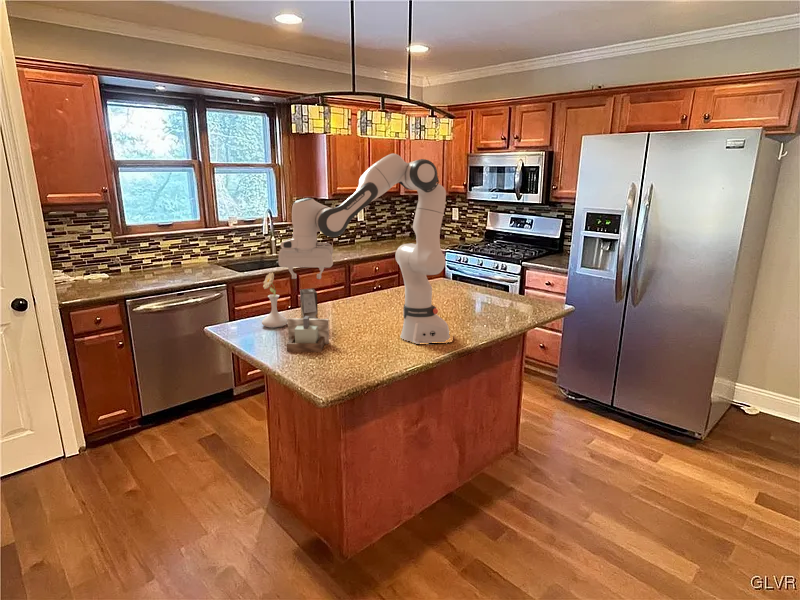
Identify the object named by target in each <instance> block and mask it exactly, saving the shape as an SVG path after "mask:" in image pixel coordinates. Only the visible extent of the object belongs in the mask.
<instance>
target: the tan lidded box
mask: <svg viewBox="0 0 800 600" xmlns="http://www.w3.org/2000/svg"><path fill="white" fill-rule="evenodd" d="M287 320H288V323H287V336H288V337H287V338H288V340H287V343H286V351H287V352H305V353H306V352H307V353H309V352H310V353H311V352H312V353H321V352H322V350H323V348H324V346H325V345H326V344H327V345H328V344H329V343H330V335H329V334H330V328H329V325H330V324H329V323H330V322H329V318H318V319H309V325H318V343H295V328H296V327H297V325H303V318H301V317H300V318H297V317H293V318H292V317H291V318H290V317H288V318H287Z"/></svg>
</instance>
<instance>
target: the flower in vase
mask: <svg viewBox="0 0 800 600" xmlns="http://www.w3.org/2000/svg"><path fill="white" fill-rule="evenodd" d="M274 278H275V273H274V272H273V271H272V272H269V273H268V274H267V275H266V276H265V279H264V281H262V282H263V286H262V288H263V289H264V290H266V289H269V291H270V292H271V293H272V294H269V295H267V298H268V299H269V301H270V303H271V304H270V305H271V311H270V313H269V314H268V315H267V316H265V317H264V318H263V319H262V321H261V325H262V326H264V327H267V328H282V327H283V326H286V325H288V318H286V317H285V316H284V315H282V314H281V313H279V311H278V308H277V307H278V299H279V297H280V294H276V293H277V289H276V288H275V285H274V283H273V282H274Z"/></svg>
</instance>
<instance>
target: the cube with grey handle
mask: <svg viewBox="0 0 800 600" xmlns="http://www.w3.org/2000/svg"><path fill="white" fill-rule="evenodd" d="M295 343H318V325H309V316H305V317H304V318H303V325H297V327H296V328H295Z"/></svg>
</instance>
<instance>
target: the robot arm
mask: <svg viewBox="0 0 800 600" xmlns="http://www.w3.org/2000/svg"><path fill="white" fill-rule="evenodd" d="M402 157H403V156H401V155H399V154H398V153H389V154H387V155H385V156H384V157H382V158H381V159H379V160H377V161H375V163H373V164H372V165H371V166H369V167H368V168H367V169H366V170H365V171H363V173H362V174H361V175H360V177H359V179H358V185H357V188H356V190H355V191H354V192H353V194H351V195H350V196H348V198H347V199H346V200H344V201H343V202H342V203H341V204H340V205H338V206H336V207H329V206H327V205H324V204H323V203H320V202H318V201H316V200H315V199H314V198H313V197H312V198H311V197H306V198H301V199H297V200H295V201H294V202H293V203H292V208H291V223H292V227H293V230H292V231H293V232H292V238H288V239H286V240H283V241H281V242H280V248H281V249H280V250H279V251H278V260H277V261H278V263H277V264H278V266H279V267H280V268H288V272H289V273H290V275H291V280H295V279H297V273H295V272H294V271H293V270H294V268H318V269H319V273H316V279H317V280H321V279H322V273H323V272H324V269H326V268H327V269H328V268H331V267H332V266H333V265H334V260H333V259H334V258H333V253H334V246H333V245H332V244H330V243H329V242H318V234H317V233H318V232H321V233H322V234H323V235H324V236H326V237H328V238H337V237H339V236H341V235H342V234H344V232H345V231H346V229H347V228H348V226H349V224H350V222H351V221H352V219H354V218H355V217H356V216H357V215H358V214H359V213H361V211H363V209H365V207H367V206H368V205H369V204H371V203H372V202H373V201H375V200H377V199H378V198H379V197H381V196H383V195H384V194H385V193H387V192H388V191H389V190H390V189H392V188H393V187H394V186H395V185H397V184H400V185H401V186H402V187H404V189H407V190H409V191H416V192H417V195H418V196H417V197H418V201H417V204H416V208H415V213H414V214H415V215H414V219H413V223H412V230H413V231H414V233H415V238H416V243H410V242H409V243H403V244H401V245H400V246H398V247H397V249H396V251H395V261H396V262H397V263H396V264H398V265H399V268H400V271H401V274H402V278H403V284H404V304H403V310H402V311H403V325H402V329H401V333H400V336H399V337H400V339H401V338H402V339H401V340H403V339H404V340H403V341H405V340H407V341H406V342H408V341H411V342H414V343H416V344H420V343H432V342H445V341H446V340H448V339H449V338H450V335H449V332H450V328H449V325H448V323H447V322H446V320H444V319H443V318H442V317H440V316H439V315H438V313H439V310H438V308H437V307H436V306H435V305H433V304H432V303H433V302H432V299H433V287H432V283H430V281H429V279H428V277H427V276H434V275H435V276H436V275H439V274H441V272H442V271H443V270H444V268H445V265H446V256H445V254H444V253H443V251H442V248H441V247H442V246H441V239H440V236H441V234H440V233H441V228H442V227H441V226H442V223H443V218H444V213H445V208H446V199H447V198H446V197H447V191H446V189H445V187H444V186H443V185H442V184H440V183H439V181H440V180H439V176H438V170H437V167H436V165H435V164H434V163H433V162H432V161H431V160H429V159H426V158H425V159H424V158H420V159H416V160H413V161H409V162H406V161H405V160H404V159H403V158H402ZM411 342H410V343H411ZM416 344H415V345H416Z"/></svg>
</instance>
